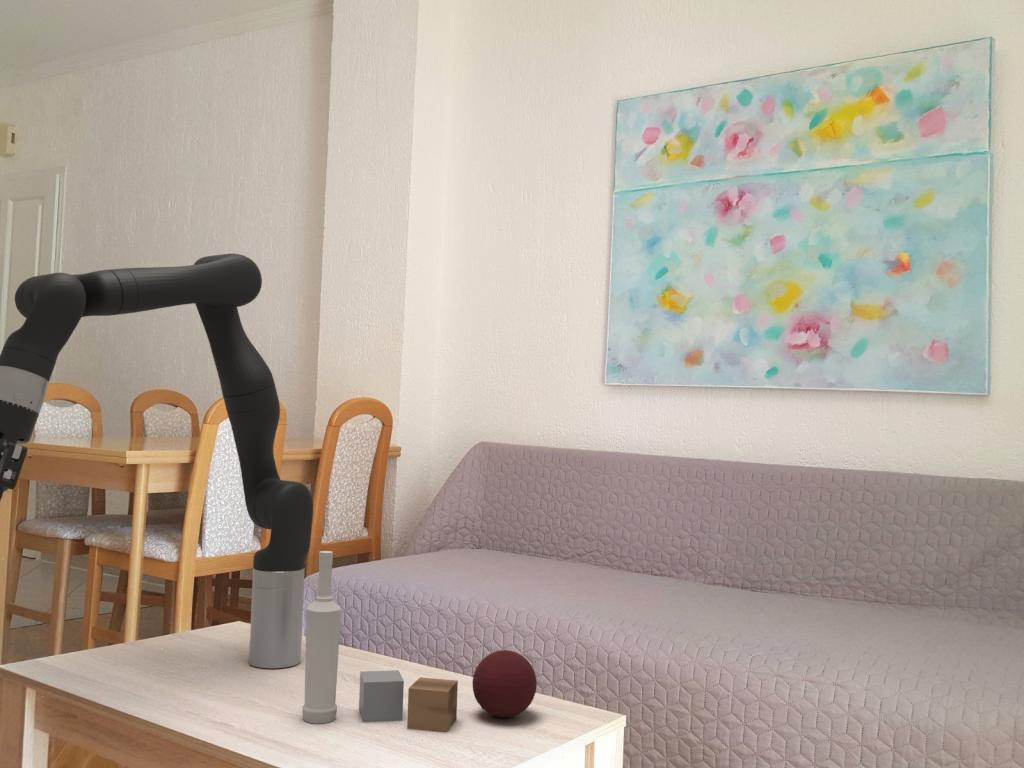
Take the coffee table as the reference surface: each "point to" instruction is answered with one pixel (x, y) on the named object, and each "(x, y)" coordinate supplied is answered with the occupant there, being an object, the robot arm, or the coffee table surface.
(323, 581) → the bottle
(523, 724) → the coffee table surface
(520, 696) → the decorative ball
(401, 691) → the slate grey cube
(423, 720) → the walnut cube
